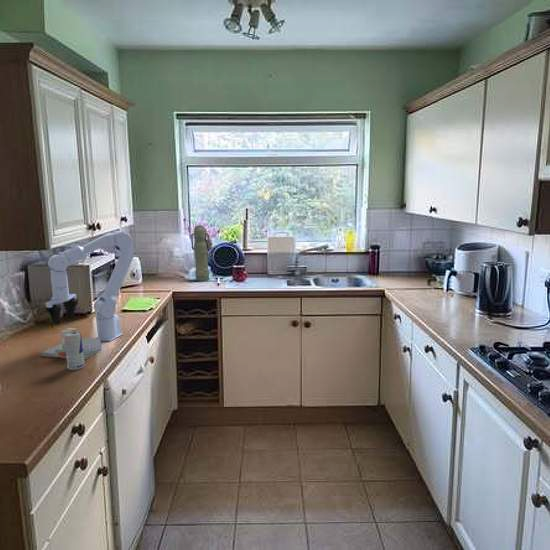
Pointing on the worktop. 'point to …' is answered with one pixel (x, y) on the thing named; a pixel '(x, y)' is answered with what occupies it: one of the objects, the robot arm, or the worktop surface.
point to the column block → (65, 333)
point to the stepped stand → (88, 345)
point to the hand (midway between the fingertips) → (63, 321)
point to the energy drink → (74, 350)
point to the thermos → (201, 253)
